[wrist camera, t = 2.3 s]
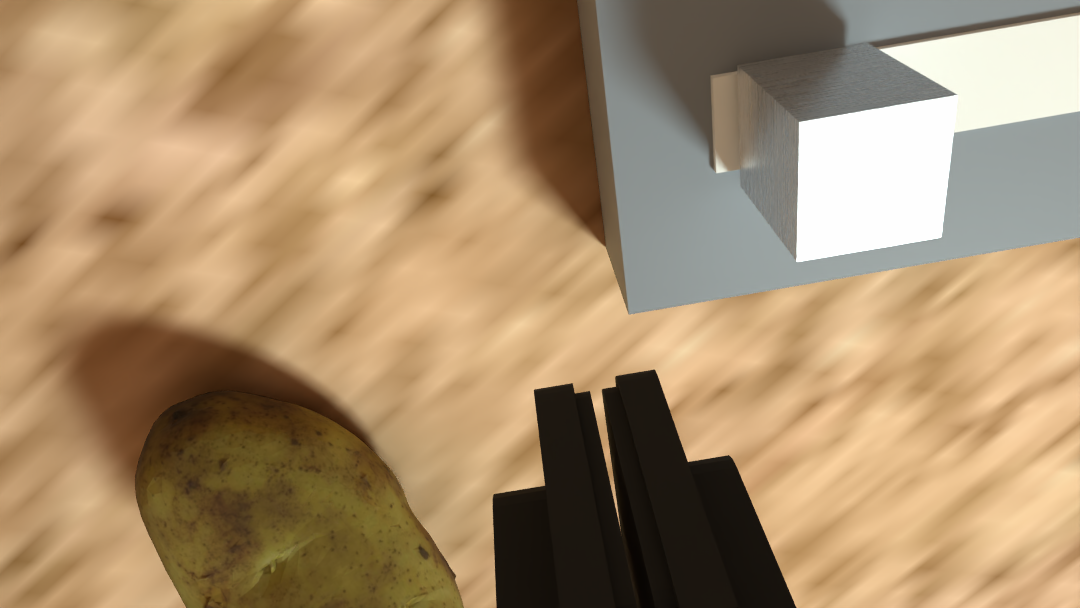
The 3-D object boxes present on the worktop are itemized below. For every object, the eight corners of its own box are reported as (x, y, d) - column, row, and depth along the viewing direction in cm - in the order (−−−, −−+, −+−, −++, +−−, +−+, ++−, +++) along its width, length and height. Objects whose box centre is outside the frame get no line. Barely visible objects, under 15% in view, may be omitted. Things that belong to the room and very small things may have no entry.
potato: (379, 318, 27) (353, 494, 20) (488, 578, 33) (496, 777, 27) (136, 382, 27) (30, 575, 20) (291, 626, 34) (250, 833, 27)
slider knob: (737, 64, 19) (799, 122, 16) (866, 42, 19) (957, 95, 16) (739, 185, 21) (796, 262, 17) (859, 165, 21) (940, 237, 17)
